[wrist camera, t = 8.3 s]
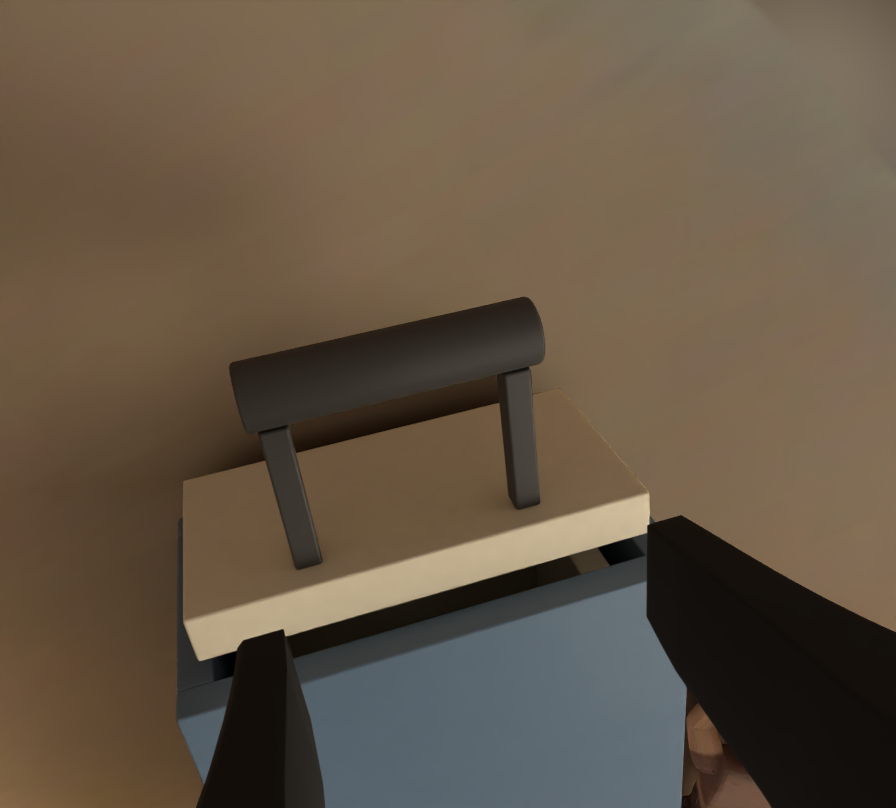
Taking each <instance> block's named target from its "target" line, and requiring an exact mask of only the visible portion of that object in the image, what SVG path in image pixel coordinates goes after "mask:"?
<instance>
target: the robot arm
mask: <svg viewBox="0 0 896 808" xmlns="http://www.w3.org/2000/svg"><path fill="white" fill-rule="evenodd" d="M646 617H647V619H648V621H649V622H650V624H651V626H652V628H653V630H654V632H655V634H656V636H657V638H658V640H659V642H660V644H661V645H662V647H663V649H664V651H665V653H666V655H667V656H668V658H669V660H670V662H671V664H672V665H673V667H674V669H675V671H676V672H677V674H678V675H679V677H680V678H681V679H682V681H683V682H684V684H685V685H686V687H687V688H688V689H689V691H690V692H691V694H692V695H693V697H694V698H695V699H696V701H697V702H698V704H699V705H700V707H701V708H702V709H703V711H704V712H705V714H706V715H707V716H708V718H709V719H710V721H711V722H712V723H713V725H714V726H715V728H716V729H717V730H718V732H719V733H720V735H721V736H722V737H723V739H724V740H725V742H726V743H727V744H728V746H729V747H730V748H731V750H732V751H733V753H734V754H735V755H736V757H737V758H738V760H739V761H740V762H741V764H742V765H743V767H744V768H745V769H746V771H747V772H748V774H749V775H750V776H751V778H752V779H753V781H754V782H755V783H756V785H757V786H758V788H759V789H760V791H761V792H762V794H763V795H764V797H765V798H766V800H767V801H768V803H769V805H770V806H771V808H896V632H894V631H892V630H889V629H887V628H885V627H883V626H881V625H878V624H876V623H874V622H872V621H870V620H868V619H865V618H863V617H861V616H859V615H857V614H855V613H853V612H851V611H849V610H847V609H845V608H843V607H841V606H839V605H837V604H835V603H833V602H831V601H829V600H827V599H825V598H824V597H822V596H820V595H818V594H816V593H814V592H812V591H810V590H809V589H807V588H805V587H803V586H801V585H799V584H798V583H796V582H794V581H792V580H790V579H789V578H787V577H785V576H783V575H781V574H780V573H778V572H776V571H774V570H773V569H771V568H769V567H768V566H766V565H764V564H762V563H761V562H759V561H757V560H755V559H754V558H752V557H750V556H749V555H747V554H745V553H744V552H742V551H740V550H739V549H737V548H735V547H734V546H732V545H730V544H729V543H727V542H725V541H724V540H722V539H720V538H719V537H717V536H715V535H714V534H712V533H710V532H709V531H707V530H705V529H704V528H702V527H700V526H699V525H697V524H695V523H694V522H692V521H690V520H688V519H687V518H685V517H683V516H681V515H680V516H677V517H673V518H670V519H666V520H663V521H659V522H656V523H652V524H649V525H647V599H646ZM196 808H325V798H324V787H323V780H322V775H321V770H320V764H319V759H318V754H317V749H316V743H315V738H314V733H313V728H312V723H311V718H310V715H309V712H308V708H307V705H306V702H305V698H304V695H303V692H302V689H301V685H300V682H299V679H298V675H297V672H296V669H295V665H294V662H293V659H292V655H291V652H290V649H289V645H288V642H287V639H286V636H285V632H284V629H281V630H277V631H274V632H270V633H267V634H263V635H260V636H256V637H253V638H249V639H246V640H243V641H242V642H241V644H240V645H239V646H238V648H237V655H236V663H235V669H234V675H233V680H232V685H231V690H230V694H229V699H228V703H227V707H226V711H225V715H224V719H223V723H222V727H221V730H220V734H219V737H218V741H217V744H216V748H215V751H214V755H213V758H212V762H211V765H210V768H209V771H208V775H207V778H206V781H205V783H204V786H203V789H202V792H201V795H200V798H199V801H198V803H197V806H196Z"/></svg>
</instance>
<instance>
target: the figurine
mask: <svg viewBox="0 0 896 808" xmlns="http://www.w3.org/2000/svg"><path fill="white" fill-rule="evenodd" d="M686 727H687V735H688V743H689V751H690V754H691V758H692V761H693V765H694V766H695V767H696V768H698V769H699V770H700V772H699V775H698V777H697V780H696V782H695V785H694V788H693V790H692V793H691V794H690V795H689V796H683V797H682V800H681V808H771V806H770V805H769V803H768V801H767V800H766V798H765V797H764V795H763V794H762V792H761V791H760V789H759V788H758V786H757V785H756V783H755V782H754V781H753V779H752V778H751V776H750V775H749V774H748V772H747V771H746V769H745V768H744V767H743V765H742V764H741V762H740V761H739V760H738V758H737V757H736V755H735V754H734V753H733V751H732V750H731V748H730V747H729V746H728V744H725V743H721V741H720V737H719V734H718V730H717V729H716V728H715V726H714V725H713V723H712V722H711V721H710V719H709V718H708V716H707V715H706V714H705V712H704V711H703V709H702V708H701V707H700V705H699V704H698V703H697V705H696V706H695V707H694V708H693V709H692V710H691V711H690V712H689V714H688V716H687V718H686Z"/></svg>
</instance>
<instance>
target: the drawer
mask: <svg viewBox="0 0 896 808" xmlns="http://www.w3.org/2000/svg"><path fill="white" fill-rule="evenodd" d="M544 355H545V338H544V332H543V327H542V323H541V320H540V317H539V314H538V312H537V309H536V307H535V306H534V304H533V302H532V301H531V300H530V299H529V298H527V297H520V298H516V299H511V300H507V301H502V302H498V303H494V304H489V305H485V306H480V307H476V308H471V309H467V310H462V311H458V312H454V313H449V314H445V315H440V316H436V317H431V318H427V319H422V320H418V321H414V322H409V323H405V324H400V325H396V326H391V327H387V328H383V329H378V330H374V331H369V332H365V333H360V334H356V335H351V336H347V337H343V338H338V339H334V340H329V341H325V342H320V343H316V344H311V345H307V346H303V347H298V348H294V349H289V350H285V351H280V352H276V353H271V354H267V355H263V356H258V357H254V358H249V359H245V360H240V361H236V362H232V363H231V364H230V366H229V370H230V377H231V382H232V386H233V391H234V395H235V399H236V403H237V407H238V411H239V414H240V418H241V421H242V424H243V427H244V429H245V431H246V432H247V433H248V434H252V433H256V432H258V436H259V440H260V443H261V447H262V450H263V454H264V458H265V461H262V462H258V463H254V464H250V465H246V466H242V467H238V468H234V469H230V470H226V471H222V472H218V473H214V474H210V475H206V476H202V477H198V478H194V479H190V480H186V481H184V482H183V623H184V626H185V629H186V631H187V634H188V636H189V639H190V642H191V644H192V647H193V649H194V652H195V655H196V657H197V659H198V660H199V661H203V660H206V659H210V658H213V657H217V656H220V655H224V654H227V653H231V652H234V651H237V648H238V646H239V645H240V644H241V642H242V641H243V640H246V639H249V638H253V637H256V636H260V635H263V634H267V633H270V632H274V631H277V630H281V629H284V632H285V636H286V639H287V642H288V645H289V649H290V652H291V655H292V659H294V658H297V657H300V656H304V655H307V654H311V653H314V652H317V651H321V650H324V649H328V648H331V647H335V646H338V645H341V644H345V643H348V642H352V641H355V640H359V639H362V638H365V637H369V636H372V635H376V634H379V633H382V632H386V631H389V630H393V629H396V628H400V627H403V626H406V625H410V624H413V623H417V622H420V621H424V620H427V619H430V618H434V617H437V616H441V615H444V614H447V613H451V612H454V611H458V610H461V609H465V608H468V607H471V606H475V605H478V604H482V603H485V602H489V601H492V600H495V599H499V598H502V597H506V596H509V595H512V594H516V593H519V592H523V591H526V590H530V589H533V588H536V587H540V586H543V585H547V584H550V583H554V582H557V581H560V580H564V579H567V578H571V577H574V576H577V575H581V574H584V573H588V572H591V571H595V570H598V569H601V568H605V567H608V566H610V565H609V564H608V562H607V561H606V559H605V558H604V556H603V555H602V553H601V552H600V551H599V549H598V548H597V547H600V546H603V545H607V544H610V543H614V542H617V541H621V540H624V539H628V538H631V537H635V536H638V535H642V534H645V533H647V525H649V509H650V493H649V491H648V490H647V489H646V488H645V486H644V485H643V484H642V483H641V482H640V481H639V479H638V478H637V477H636V476H635V475H634V474H633V472H632V471H631V470H630V469H629V468H628V467H627V465H626V464H625V463H624V462H623V461H622V460H621V458H620V457H619V456H618V455H617V454H616V453H615V451H614V450H613V449H612V448H611V447H610V446H609V444H608V443H607V442H606V441H605V440H604V439H603V437H602V436H601V435H600V434H599V433H598V432H597V430H596V429H595V428H594V427H593V426H592V425H591V423H590V422H589V421H588V420H587V419H586V418H585V416H584V415H583V414H582V413H581V412H580V411H579V409H578V408H577V407H576V406H575V405H574V404H573V402H572V401H571V400H570V399H569V398H568V397H567V396H566V394H565V393H564V392H563V391H562V390H561V389H560V388H557V389H553V390H549V391H544V392H540V393H536V394H532V381H531V370H530V368H529V366H533V365H538V364H540V363H541V362H542V361H543V359H544ZM496 374H497V384H498V395H499V403H496V404H492V405H488V406H484V407H480V408H476V409H472V410H468V411H464V412H460V413H456V414H452V415H448V416H444V417H440V418H436V419H432V420H428V421H423V422H419V423H415V424H411V425H407V426H403V427H399V428H395V429H391V430H387V431H383V432H379V433H375V434H371V435H367V436H363V437H359V438H355V439H351V440H347V441H343V442H339V443H335V444H331V445H327V446H323V447H319V448H315V449H311V450H307V451H303V452H298V453H296V452H295V448H294V444H293V440H292V436H291V432H290V428H289V424H293V423H297V422H301V421H306V420H310V419H314V418H318V417H322V416H326V415H330V414H335V413H339V412H343V411H347V410H351V409H355V408H359V407H364V406H368V405H372V404H376V403H380V402H384V401H388V400H393V399H397V398H401V397H405V396H409V395H413V394H417V393H422V392H426V391H430V390H434V389H438V388H442V387H446V386H451V385H455V384H459V383H463V382H467V381H471V380H475V379H480V378H484V377H488V376H492V375H496Z"/></svg>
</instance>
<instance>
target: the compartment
mask: <svg viewBox="0 0 896 808" xmlns="http://www.w3.org/2000/svg"><path fill="white" fill-rule="evenodd" d="M652 523H655V521H654V520H653V519H652V518H651V517H650V515H649V524H652ZM597 548H598V549H599V551H600V552H601V553H602V555H603V556H604V558H605V559H606V561H607V562H608V564H609V565H610V566H608V567H605V568H601V569H598V570H595V571H591V572H588V573H584V574H581V575H577V576H574V577H571V578H567V579H564V580H560V581H557V582H554V583H550V584H547V585H543V586H540V587H536V588H533V589H530V590H526V591H523V592H519V593H516V594H512V595H509V596H506V597H502V598H499V599H495V600H492V601H489V602H485V603H482V604H478V605H475V606H471V607H468V608H465V609H461V610H458V611H454V612H451V613H447V614H444V615H441V616H437V617H434V618H430V619H427V620H424V621H420V622H417V623H413V624H410V625H406V626H403V627H400V628H396V629H393V630H389V631H386V632H382V633H379V634H376V635H372V636H369V637H365V638H362V639H359V640H355V641H352V642H348V643H345V644H341V645H338V646H335V647H331V648H328V649H324V650H321V651H317V652H314V653H311V654H307V655H304V656H300V657H297V658H294V659H293V662H294V665H295V669H296V672H297V675H298V679H299V682H300V685H301V689H302V692H303V695H304V698H305V702H306V705H307V708H308V712H309V715H310V718H311V723H312V728H313V733H314V738H315V743H316V749H317V754H318V759H319V764H320V770H321V775H322V780H323V787H324V798H325V808H681V800H682V778H683V756H684V734H685V712H686V690H687V687H686V685H685V684H684V682H683V681H682V679H681V678H680V677H679V675H678V674H677V672H676V671H675V669H674V667H673V665H672V664H671V662H670V660H669V658H668V656H667V655H666V653H665V651H664V649H663V647H662V645H661V644H660V642H659V640H658V638H657V636H656V634H655V632H654V630H653V628H652V626H651V624H650V622H649V621H648V619H647V617H646V599H647V533H645V534H642V535H638V536H635V537H631V538H628V539H624V540H621V541H617V542H614V543H610V544H607V545H603V546H600V547H597ZM236 655H237V651H234V652H231V653H227V654H224V655H220V656H217V657H213V658H210V659H206V660H203V661H199V660H198V659H197V657H196V655H195V652H194V649H193V647H192V644H191V642H190V639H189V636H188V634H187V631H186V629H185V626H184V623H183V518H181V519H179V521H178V584H177V701H176V722H177V724H178V726H179V729H180V731H181V733H182V736H183V738H184V740H185V743H186V745H187V747H188V750H189V752H190V754H191V757H192V759H193V761H194V764H195V766H196V768H197V771H198V773H199V775H200V778H201V780H202V782H203V785H204V783H205V781H206V778H207V775H208V771H209V768H210V765H211V762H212V758H213V755H214V751H215V748H216V744H217V741H218V737H219V734H220V730H221V727H222V723H223V719H224V715H225V711H226V707H227V703H228V699H229V694H230V690H231V685H232V680H233V675H234V669H235V663H236Z"/></svg>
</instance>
